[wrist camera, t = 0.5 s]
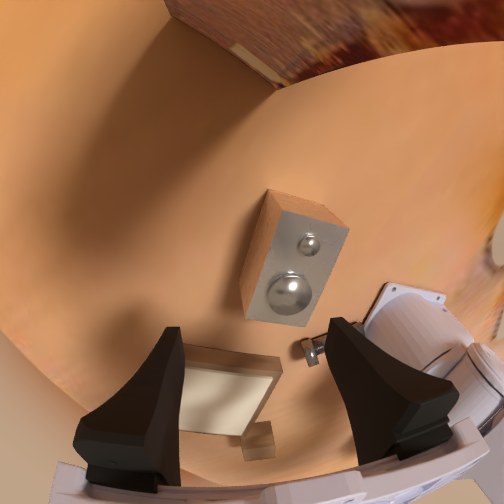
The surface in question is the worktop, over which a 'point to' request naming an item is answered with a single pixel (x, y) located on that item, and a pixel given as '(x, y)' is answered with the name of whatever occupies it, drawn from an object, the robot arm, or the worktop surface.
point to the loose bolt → (320, 346)
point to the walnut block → (258, 442)
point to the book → (335, 30)
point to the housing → (289, 259)
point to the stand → (225, 390)
